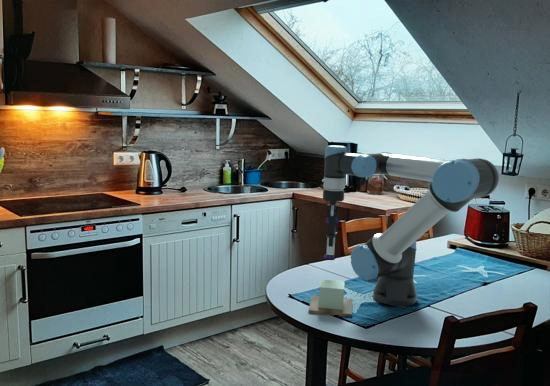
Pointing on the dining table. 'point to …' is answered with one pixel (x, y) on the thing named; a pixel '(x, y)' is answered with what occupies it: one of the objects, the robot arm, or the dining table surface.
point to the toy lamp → (330, 257)
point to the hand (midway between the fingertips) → (330, 253)
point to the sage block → (331, 294)
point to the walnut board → (326, 311)
